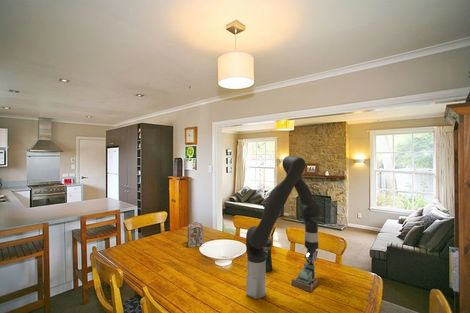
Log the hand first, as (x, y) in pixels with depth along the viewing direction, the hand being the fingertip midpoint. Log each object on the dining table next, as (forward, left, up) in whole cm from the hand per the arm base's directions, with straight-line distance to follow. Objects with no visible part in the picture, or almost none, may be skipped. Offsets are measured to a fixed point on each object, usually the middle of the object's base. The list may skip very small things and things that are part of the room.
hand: (311, 269), depth 134 cm
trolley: (-7, 0, -5) cm, 9 cm away
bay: (-9, 0, -5) cm, 10 cm away
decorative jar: (-10, +92, -5) cm, 93 cm away
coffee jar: (-8, +27, -5) cm, 29 cm away
